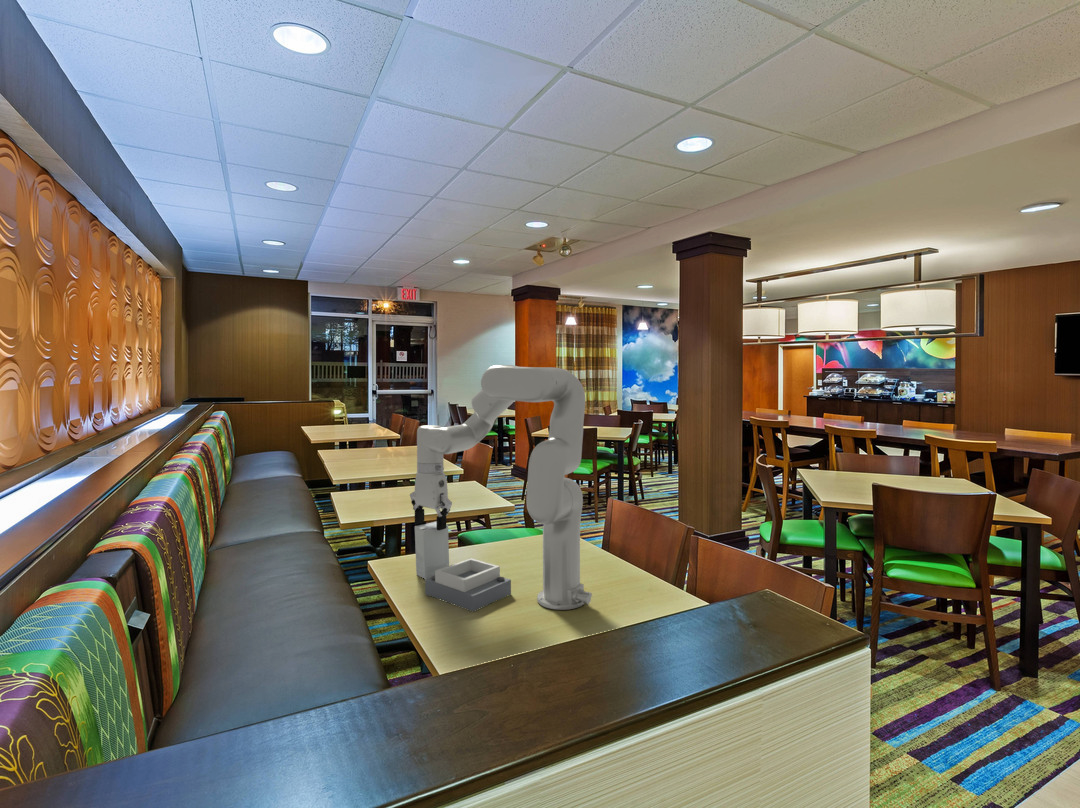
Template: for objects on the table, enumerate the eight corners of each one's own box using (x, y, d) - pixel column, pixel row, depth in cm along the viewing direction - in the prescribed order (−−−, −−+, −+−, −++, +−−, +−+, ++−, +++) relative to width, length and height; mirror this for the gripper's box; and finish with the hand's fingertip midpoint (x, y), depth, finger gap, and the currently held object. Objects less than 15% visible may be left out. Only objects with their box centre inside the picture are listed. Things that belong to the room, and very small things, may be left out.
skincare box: (440, 568, 169) (439, 520, 169) (450, 574, 165) (449, 524, 164) (414, 575, 164) (413, 524, 163) (424, 581, 159) (423, 529, 159)
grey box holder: (511, 594, 149) (510, 568, 149) (473, 612, 138) (472, 584, 138) (463, 579, 161) (463, 555, 160) (425, 594, 150) (424, 568, 149)
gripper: (460, 470, 160) (460, 529, 161) (421, 463, 171) (421, 518, 172) (440, 473, 155) (440, 534, 156) (401, 466, 165) (401, 523, 166)
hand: (430, 526), depth 164 cm, fingers open, 9 cm apart
